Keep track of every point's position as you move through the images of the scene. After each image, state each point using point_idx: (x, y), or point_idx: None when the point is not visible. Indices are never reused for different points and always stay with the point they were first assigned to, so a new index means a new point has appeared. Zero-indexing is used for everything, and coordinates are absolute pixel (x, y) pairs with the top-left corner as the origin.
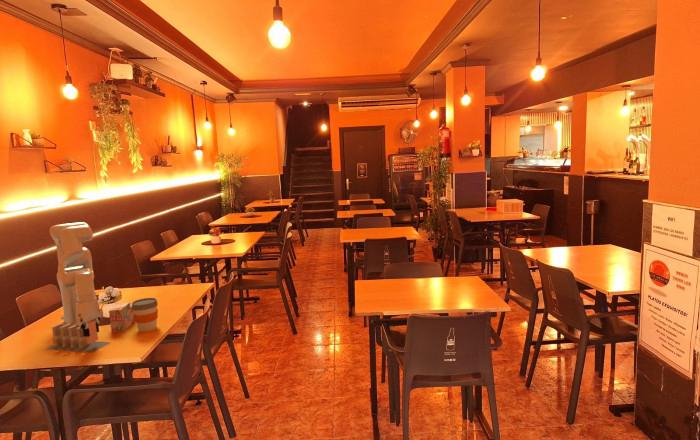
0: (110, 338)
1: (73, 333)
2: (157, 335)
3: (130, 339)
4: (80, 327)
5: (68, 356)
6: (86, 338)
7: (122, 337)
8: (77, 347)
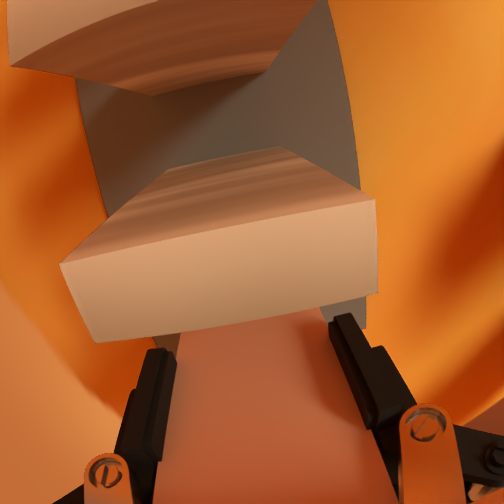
0: (442, 223)
1: (122, 66)
2: (462, 420)
3: (428, 371)
4: (67, 497)
5: (45, 241)
6: (180, 339)
7: (460, 297)
8: (171, 129)
